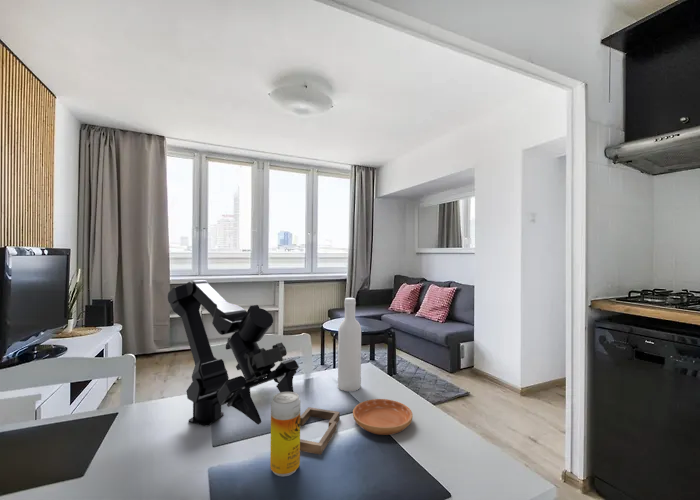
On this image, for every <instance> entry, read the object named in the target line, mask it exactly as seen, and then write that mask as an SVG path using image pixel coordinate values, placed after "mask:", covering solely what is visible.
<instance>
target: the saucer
mask: <svg viewBox="0 0 700 500" xmlns="http://www.w3.org/2000/svg"><path fill="white" fill-rule="evenodd" d="M413 415H414V414H413V412H412V409H410V407H409V406H407V405H405V404H404V403H402V402H399V401H397V400H392V399H386V398H375V399H369V400H364V401H362V402H360V403H357V405H355V407H354V408H353V410H352V416H353V420H354V421H355V423H356V424H357V425H358V426H360V428H361V429H362V430H365V431H366V432H368V433H371V434H374V435H378V436H390V435H395V434H399V433H401V432H402V431H403V430H405V429H407V428H408V427H409V426H410V424H411V423H412V421H413Z"/></svg>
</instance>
